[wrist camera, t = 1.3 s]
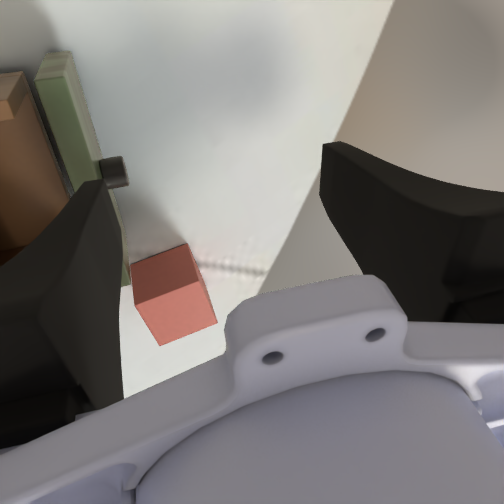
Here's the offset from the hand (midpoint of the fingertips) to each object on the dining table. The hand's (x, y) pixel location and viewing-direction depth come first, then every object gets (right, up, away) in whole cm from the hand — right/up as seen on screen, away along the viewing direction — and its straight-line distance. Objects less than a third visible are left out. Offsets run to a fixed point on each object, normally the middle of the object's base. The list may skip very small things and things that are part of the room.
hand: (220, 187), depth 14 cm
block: (-5, -4, +18) cm, 19 cm away
